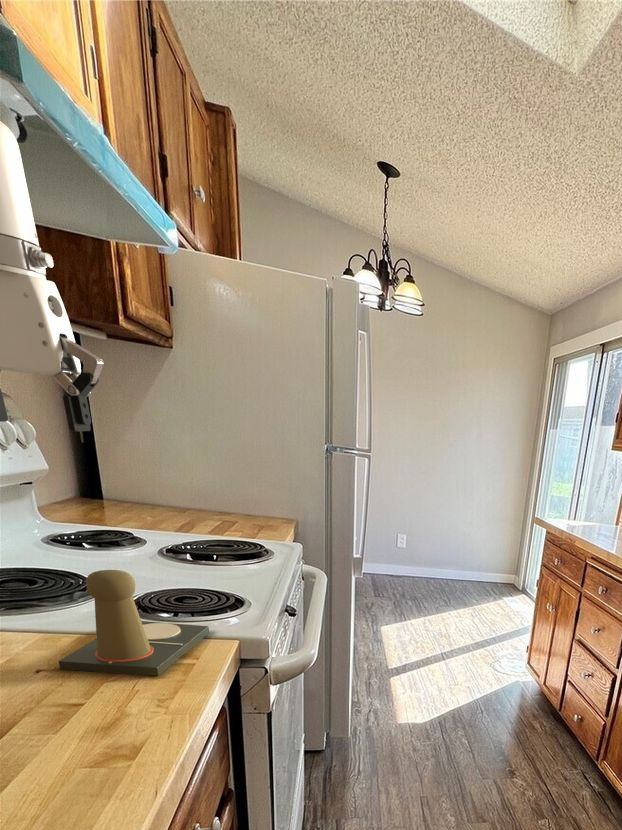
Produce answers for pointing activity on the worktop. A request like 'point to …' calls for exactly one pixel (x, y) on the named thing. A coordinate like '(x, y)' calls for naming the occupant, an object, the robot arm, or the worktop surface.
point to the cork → (116, 616)
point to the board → (165, 650)
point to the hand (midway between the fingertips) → (39, 426)
